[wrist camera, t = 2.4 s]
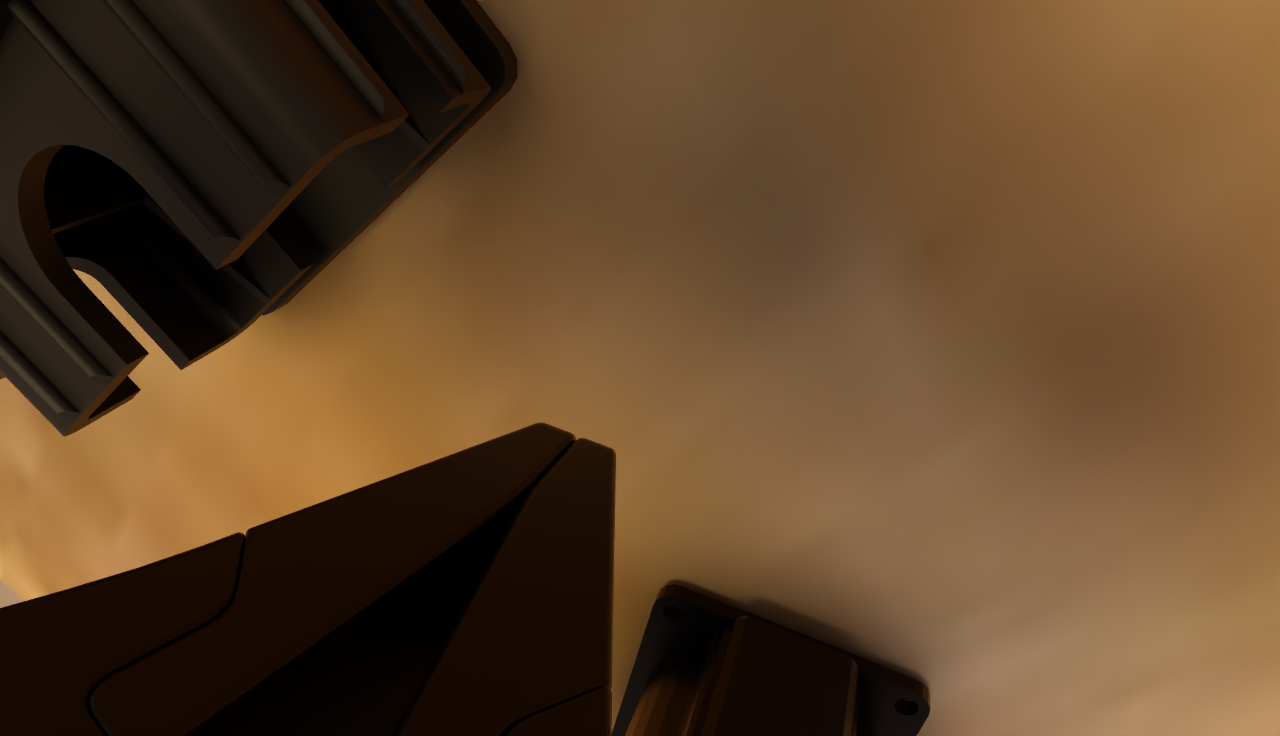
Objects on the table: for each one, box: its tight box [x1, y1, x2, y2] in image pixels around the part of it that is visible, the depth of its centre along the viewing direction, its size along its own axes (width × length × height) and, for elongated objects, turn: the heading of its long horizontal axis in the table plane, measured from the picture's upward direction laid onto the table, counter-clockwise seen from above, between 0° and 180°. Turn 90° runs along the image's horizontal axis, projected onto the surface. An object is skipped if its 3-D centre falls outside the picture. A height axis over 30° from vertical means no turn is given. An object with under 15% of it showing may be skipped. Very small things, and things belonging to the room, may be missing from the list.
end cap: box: [0, 0, 517, 436], centre depth 15 cm, size 10×7×7 cm
